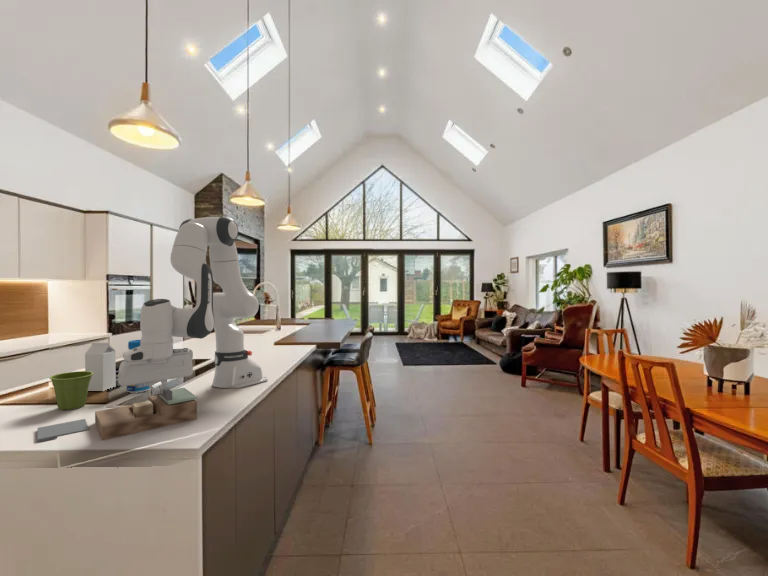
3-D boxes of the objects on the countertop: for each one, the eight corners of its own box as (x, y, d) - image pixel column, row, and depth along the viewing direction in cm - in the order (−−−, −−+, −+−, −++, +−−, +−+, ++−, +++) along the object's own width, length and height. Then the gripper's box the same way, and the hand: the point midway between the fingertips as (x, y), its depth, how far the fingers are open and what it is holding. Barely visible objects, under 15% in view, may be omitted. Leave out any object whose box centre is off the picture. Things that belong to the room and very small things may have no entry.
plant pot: (66, 414, 124) (66, 380, 124) (40, 411, 128) (40, 377, 127) (102, 403, 136) (101, 372, 136) (77, 400, 139) (77, 369, 139)
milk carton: (102, 392, 150) (102, 344, 149) (85, 392, 150) (84, 344, 149) (115, 387, 157) (115, 341, 156) (98, 387, 157) (98, 341, 157)
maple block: (149, 417, 120) (149, 400, 120) (153, 421, 117) (153, 404, 117) (133, 421, 117) (132, 403, 117) (135, 425, 114) (135, 407, 114)
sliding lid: (184, 389, 131) (184, 380, 131) (196, 399, 121) (196, 388, 121) (157, 394, 126) (157, 384, 125) (168, 404, 115) (168, 393, 115)
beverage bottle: (146, 392, 149) (146, 342, 148) (122, 394, 147) (121, 342, 146) (154, 387, 157) (153, 338, 157) (131, 388, 155) (130, 339, 155)
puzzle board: (181, 407, 132) (181, 390, 132) (196, 420, 119) (196, 401, 119) (95, 424, 116) (95, 405, 116) (102, 442, 103) (102, 420, 103)
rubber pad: (85, 421, 118) (85, 418, 118) (88, 431, 110) (88, 428, 110) (37, 430, 111) (37, 427, 111) (37, 442, 103) (37, 439, 103)
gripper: (189, 345, 129) (190, 386, 129) (116, 353, 115) (117, 399, 115) (195, 348, 124) (196, 390, 124) (120, 356, 110) (120, 404, 110)
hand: (157, 394), depth 119 cm, fingers closed
